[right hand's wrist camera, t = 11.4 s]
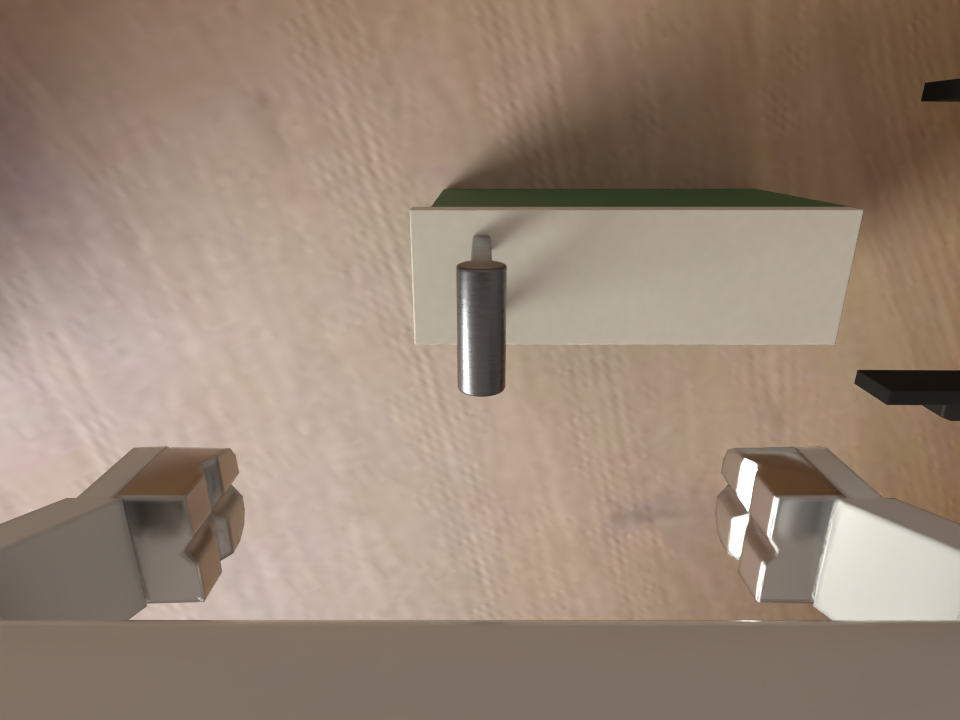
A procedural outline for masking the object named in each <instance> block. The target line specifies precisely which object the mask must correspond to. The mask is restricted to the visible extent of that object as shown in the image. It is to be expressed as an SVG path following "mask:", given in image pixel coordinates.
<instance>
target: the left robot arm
mask: <svg viewBox="0 0 960 720" xmlns="http://www.w3.org/2000/svg"><path fill="white" fill-rule="evenodd" d="M921 101H950V102H960V79H953V80H945V81H937V82H929V83H925V86H924V90H923V95H922V99H921ZM855 384H856V385H858V386H859V387H861V388H862V389H864V390H865V391H867V392H868V393H870V394H871V395H873V396H874V397H876V398H877V399H879V400H880V401H882V402H883V403H885V404H887V405H923V406H924V407H926V408H927V409H929V410H931V411H932V412H934V413H936V414H937V415H939V416H941V417H943V418H945V419H947V420H950V421H960V371H947V370H857V375H856V379H855Z"/></svg>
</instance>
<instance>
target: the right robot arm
mask: <svg viewBox="0 0 960 720" xmlns="http://www.w3.org/2000/svg"><path fill="white" fill-rule="evenodd" d="M238 473H239V470H238V465H237V460H236V455H235V454H234V453H233V451H232V450H231V449H230V448H187V447H170V448H169V447H167V446H165V447H139V448H133V449H132V450H130V451H129V452H128V453H127V454H126V455H125V456H124V457H123V458H121V459H120V460H119V461H118V462H117V463H116V464H115V465H113V466H112V467H111V468H110V469H109V470H108V471H107V472H105V473H104V474H103V475H102V476H101V477H100V478H99V479H98V480H96V481H95V482H94V483H93V484H92V485H91V486H90V487H88V488H87V489H86V490H85V491H84V492H83V493H82V494H81V495H79V496H78V497H77V498H66V499H63V500H60V501H58V502H55V503H53V504H50V505H48V506H45V507H42V508H40V509H37V510H35V511H32V512H30V513H27V514H25V515H22V516H19V517H17V518H14V519H12V520H9V521H7V522H4V523H2V524H0V720H960V524H958V523H956V522H953V521H951V520H948V519H946V518H943V517H940V516H938V515H935V514H933V513H930V512H928V511H925V510H923V509H920V508H917V507H915V506H912V505H910V504H907V503H905V502H902V501H900V500H897V499H895V498H883V497H882V496H881V495H880V494H878V493H877V492H876V491H875V490H874V489H873V488H872V487H870V486H869V485H868V484H867V483H866V482H865V481H864V480H863V479H861V478H860V477H859V476H858V475H857V474H856V473H855V472H854V471H852V470H851V469H850V468H849V467H848V466H847V465H846V464H844V463H843V462H842V461H841V460H840V459H839V458H838V457H837V456H835V455H834V454H833V453H832V452H831V451H830V450H829V449H827V448H823V447H820V446H816V447H770V448H734V449H729V450H727V452H726V454H725V457H724V459H723V464H722V470H721V473H722V475H723V477H724V478H725V480H726V481H727V483H728V484H729V485H728V486H727V487H726V488H725V489H724V490H723V491H722V492H721V493H720V494H719V495H718V496H717V503H716V512H715V517H716V527H717V533H718V536H719V539H720V542H721V544H722V546H723V547H724V549H725V551H726V553H728V554H729V555H731V556H732V557H734V558H736V559H737V560H739V561H740V562H739V568H738V573H739V575H740V576H741V578H742V579H743V581H744V583H745V584H746V586H747V588H748V589H749V591H750V593H751V594H752V596H753V598H754V599H755V601H756V602H777V603H813V606H814V607H815V608H816V609H818V610H819V611H821V612H822V613H823V614H825V615H826V616H827V617H829V618H830V619H831V620H129V619H130V618H131V617H133V616H134V615H136V614H137V613H138V612H140V611H141V610H142V609H144V608H145V607H146V606H147V604H146V603H182V602H204V601H205V599H206V598H207V596H208V594H209V593H210V591H211V589H212V588H213V586H214V584H215V583H216V581H217V580H218V578H219V576H220V575H221V573H222V568H221V562H220V561H221V560H223V559H224V558H226V557H228V556H229V555H231V554H232V553H234V551H235V549H236V547H237V545H238V544H239V542H240V539H241V535H242V531H243V527H244V511H245V509H244V502H243V496H242V495H241V494H240V493H239V492H238V491H237V490H236V489H235V488H234V487H233V486H232V485H231V484H232V483H233V481H234V480H235V478H236V477H237V475H238Z"/></svg>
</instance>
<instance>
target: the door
mask: <svg viewBox="0 0 960 720" xmlns="http://www.w3.org/2000/svg"><path fill="white" fill-rule="evenodd" d="M863 211H864V210H863V209H858V208H853V207H412V208H411V209H410V232H411V257H412V283H413V308H414V333H415V344H457V362H458V388H459V390H460V391H461V392H462V393H464V394H467V395H471V396H492V395H496V394H499V393H501V392H502V391H503V390H504V388H505V362H506V344H835V343H836V338H837V333H838V329H839V324H840V319H841V315H842V310H843V305H844V300H845V296H846V291H847V286H848V282H849V277H850V272H851V268H852V263H853V258H854V254H855V249H856V244H857V239H858V235H859V230H860V225H861V221H862V216H863Z"/></svg>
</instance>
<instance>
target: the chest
mask: <svg viewBox="0 0 960 720" xmlns="http://www.w3.org/2000/svg"><path fill="white" fill-rule="evenodd" d="M432 207H847V206H842V205H837V204H832V203H826V202H821V201H816V200H811V199H805V198H800V197H795V196H790V195H784V194H779V193H774V192H768V191H763V190H757V189H444V190H443V191H442V193H441V194H440V195H439V197H438V198H437V200H436V201H435V202H434V204H433V205H432Z"/></svg>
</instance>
